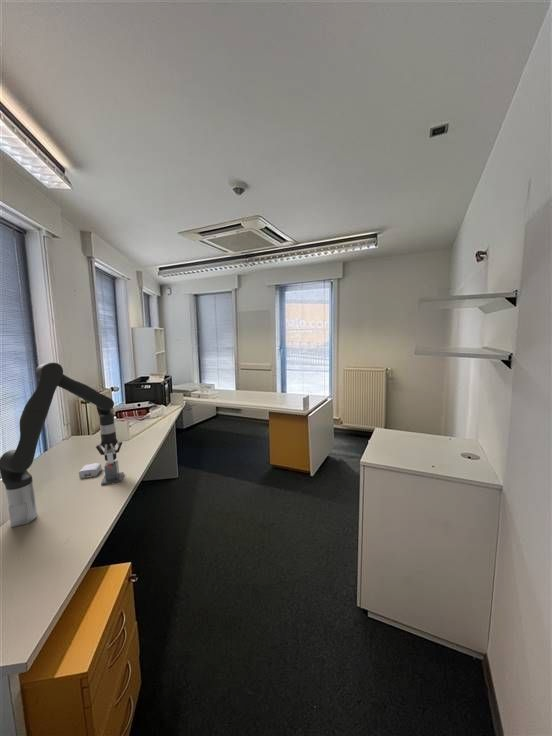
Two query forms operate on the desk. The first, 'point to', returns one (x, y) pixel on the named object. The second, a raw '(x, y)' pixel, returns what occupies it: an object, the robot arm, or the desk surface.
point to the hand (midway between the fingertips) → (111, 460)
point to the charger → (90, 470)
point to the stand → (112, 474)
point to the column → (110, 457)
